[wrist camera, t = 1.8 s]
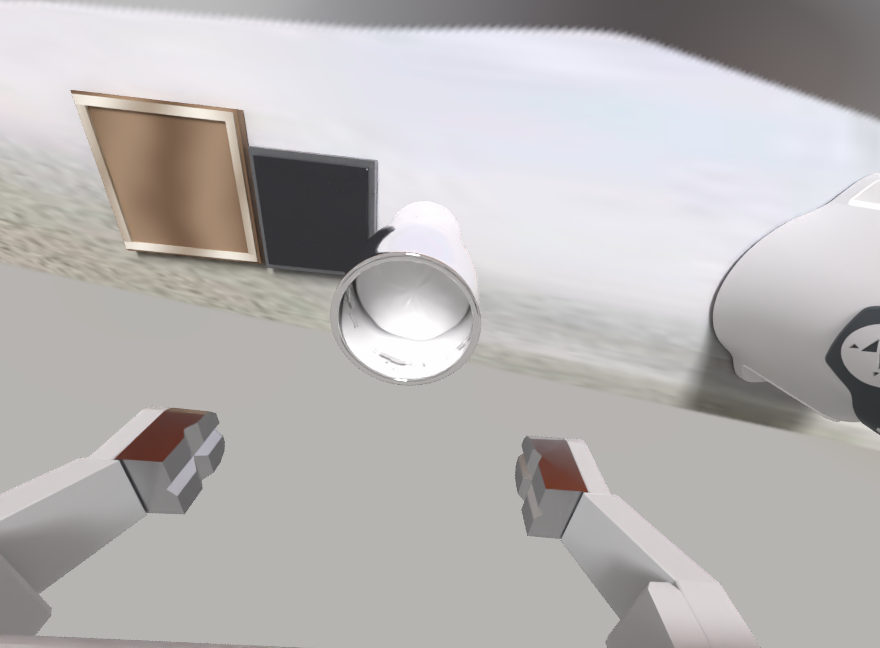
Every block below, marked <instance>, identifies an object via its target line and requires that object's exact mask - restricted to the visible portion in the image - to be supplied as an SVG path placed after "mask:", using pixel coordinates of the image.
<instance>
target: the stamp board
mask: <svg viewBox="0 0 880 648" xmlns="http://www.w3.org/2000/svg"><path fill="white" fill-rule="evenodd" d="M71 93H72V96H73V99H74V102H75V104H76V107H77V110H78V113H79V116H80V119H81V121H82V124H83V127H84V130H85V133H86V136H87V139H88V141H89V144H90V147H91V150H92V153H93V156H94V158H95V161H96V164H97V167H98V170H99V173H100V175H101V178H102V181H103V184H104V187H105V190H106V192H107V195H108V198H109V201H110V204H111V207H112V209H113V212H114V215H115V218H116V221H117V224H118V226H119V229H120V232H121V235H122V238H123V241H124V243H125V246H126V249H127V250H130V251H140V252H150V253H160V254H170V255H180V256H189V257H199V258H209V259H219V260H229V261H239V262H248V263H258V264H262V263H263V262H265V255H264V248H263V241H262V235H261V228H260V222H259V215H258V209H257V202H256V196H255V189H254V183H253V176H252V170H251V163H250V156H249V150H248V141H247V135H246V128H245V121H244V115H243V110H237V109H229V108H221V107H212V106H204V105H195V104H186V103H178V102H169V101H161V100H152V99H144V98H135V97H127V96H118V95H110V94H101V93H93V92H84V91H76V90H71Z"/></svg>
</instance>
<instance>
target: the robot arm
mask: <svg viewBox="0 0 880 648" xmlns="http://www.w3.org/2000/svg"><path fill="white" fill-rule="evenodd" d="M713 326H714V330H715V333H716V336H717V338H718V339H719V341H720V342H721V344H722V345H723V346H724V347H725V348H726V349H727V350H728V351H729V352H730V353H731V355H732V357H733V364H734V370H735V373H736V375H737V376H739V377H740V378H742V379H743V380H745V381H747V382H752V383H754V382H769V383H771V384H772V385H774V386H776V387H777V388H779V389H780V390H782V391H783V392H785V393H787V394H788V395H790V396H791V397H793V398H794V399H796V400H798V401H799V402H801V403H802V404H804V405H806V406H807V407H809V408H810V409H812V410H814V411H815V412H817V413H818V414H820V415H822V416H823V417H825V418H827V419H830V420H832V421H836V422H838V421H846V422H862V423H863V424H864V425H866V426H867V427H869V428H870V429H872V430H873V431H875V432H876V433H878V434H879V435H880V173H874V174H870V175H868V176H866V177H864V178H862V179H861V180H859V181H857V182H856V183H855V184H853V185H852V186H850V187H849V188H848V189H846V190H845V191H844V192H842V193H841V194H840V195H839V196H837V197H836V198H835V199H833V200H832V201H831V202H829V203H828V204H826V205H824V206H822V207H820V208H818V209H815V210H813V211H811V212H808V213H806V214H804V215H801V216H799V217H797V218H795V219H793V220H791V221H789V222H787V223H785V224H783V225H782V226H780V227H778V228H777V229H775V230H774V231H772V232H771V233H769V234H768V235H766V236H765V237H764V238H762V239H761V240H760V241H759V242H757V243H756V244H755V245H754V246H753V247H752V248H751V249H749V250H748V251H747V252H746V253H745V254H744V255H743V257H742V258H741V259H740V260H739V261H738V262H737V263H736V265H735V266H734V267H733V268H732V270H731V271H730V273H729V274H728V276H727V277H726V279H725V280H724V282H723V284H722V286H721V288H720V290H719V292H718V295H717V298H716V301H715V305H714V310H713ZM218 424H219V420H218V417H217V415H216V413H213V412H209V411H199V410H189V409H180V408H166V407H156V406H151V407H148V408H145V409H143V410H142V411H141V412H140V413H138V415H136V416H135V417H134V418H133V419H132V420H130V421H129V422H128V423H127V424H126V425H125V426H124V427H123V428H121V429H120V430H119V431H118V432H117V433H116V434H115V435H113V436H112V437H111V438H110V439H109V440H108V441H107V442H106V443H104V444H103V445H102V446H101V447H100V448H99V449H97V450H96V451H95V452H94V453H93V454H92V455H91V456H89V457H88V458H79V459H77V460H74V461H73V462H70V463H68V464H66V465H63V466H62V467H59V468H57V469H55V470H52V471H51V472H48V473H46V474H44V475H41V476H39V477H37V478H35V479H33V480H30V481H28V482H26V483H24V484H22V485H19V486H17V487H15V488H13V489H11V490H8V491H7V492H4V493H2V494H0V648H296V647H274V646H252V645H231V644H230V645H229V644H209V643H187V642H165V641H164V642H163V641H142V640H120V639H98V638H76V637H53V636H35V635H36V634H37V633H38V631H39V630H40V629H41V628H42V626H43V625H44V624H45V623H46V621H47V620H48V619H49V618H50V617H51V609H52V608H51V607H50V606H49V605H48V604H47V603H46V602H45V601H44V600H43V598H42V597H41V596H40V595H39V593H41V592H42V591H44V590H45V589H46V588H47V587H49V586H50V585H52V584H53V583H54V582H56V581H57V580H58V579H60V578H61V577H63V576H64V575H65V574H67V573H68V572H69V571H71V570H72V569H74V568H75V567H76V566H78V565H79V564H80V563H82V562H83V561H85V560H86V559H87V558H89V557H90V556H91V555H93V554H94V553H96V552H97V551H98V550H100V549H101V548H102V547H104V546H105V545H106V544H108V543H109V542H111V541H112V540H113V539H114V538H116V537H117V536H119V535H120V534H121V533H123V532H124V531H126V530H127V529H128V528H130V527H131V526H132V525H134V524H135V523H137V522H138V521H139V520H141V519H142V518H143V517H145V516H146V515H147V514H146V513H164V514H165V513H166V514H185V513H186V511H187V510H188V509H189V507H190V506H191V504H192V503H193V501H194V500H195V499H196V497H197V496H198V494H199V493H200V491H201V490H202V480H203V479H204V478H206V477H207V476H209V475H211V474H212V473H214V471H215V470H216V468H217V466H218V465H219V464H220V462H221V459H222V456H223V453H224V447H225V441H224V438H223V435H222V434H221V433H219V432H218V431H217V430H216V429H215V428H216V426H217V425H218ZM522 449H523V454H522V455H520V456H519V457H518V460H517V464H516V471H515V479H516V487H517V491H518V494H519V495H520V496H521V497H522V499H523V500H524V504H523V507H522V514H523V518H524V523H525V527H526V531H527V536H536V537H546V538H557V539H561V542H562V543H563V545H564V546H565V547H566V548H567V550H568V551H569V553H570V554H571V555H572V556H573V558H574V559H575V560H576V562H577V563H578V564H579V566H580V567H581V568H582V570H583V571H584V572H585V573H586V574H587V576H588V577H589V579H590V580H591V581H592V583H593V584H594V585H595V587H596V588H597V589H598V591H599V592H600V593H601V595H602V596H603V597H604V598H605V600H606V601H607V603H608V604H609V605H610V607H611V608H612V609H613V610H614V612H615V613H616V614H617V615H618V617H619V618H620V621H619V623H618V624H617V625H616V626H615V628H614V629H613V631H612V632H611V633H610V634H609V636H608V638H607V640H606V645H607V648H761V647H760V646H759V644H758V643H757V641H756V639H755V638H754V636H753V635H752V633H751V631H750V630H749V628H748V627H747V625H746V624H745V622H744V621H743V619H742V617H741V616H740V614H739V613H738V611H737V610H736V608H735V606H734V605H733V603H732V602H731V600H730V599H729V597H728V595H727V594H726V592H725V591H724V589H723V588H722V586H721V584H720V583H718V582H717V581H716V580H715V579H714V578H713V577H712V576H710V575H709V574H708V573H707V572H706V571H705V570H703V569H702V568H701V567H700V566H699V565H698V564H696V563H695V562H694V561H693V560H692V559H691V558H689V557H688V556H687V555H686V554H685V553H684V552H682V551H681V550H680V549H679V548H678V547H677V546H675V545H674V544H673V543H672V542H671V541H670V540H668V539H667V538H666V537H665V536H664V535H662V533H660V532H659V531H658V530H657V529H656V528H655V527H653V526H652V525H651V524H650V523H649V522H648V521H646V520H645V519H644V518H643V517H642V516H641V515H639V514H638V513H637V512H636V511H635V510H634V509H632V508H631V507H630V506H629V505H628V504H627V503H625V502H624V501H623V500H622V499H621V498H620V497H619V496H617V495H611V493H610V491H609V489H608V487H607V486H606V483H605V481H604V479H603V477H602V475H601V473H600V471H599V469H598V467H597V465H596V463H595V461H594V459H593V457H592V455H591V453H590V451H589V449H588V447H587V445H586V443H585V442H584V441H583V440H582V439H566V438H563V439H562V438H552V437H538V436H526V437H525V438H524V440H523V443H522Z"/></svg>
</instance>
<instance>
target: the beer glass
mask: <svg viewBox="0 0 880 648" xmlns="http://www.w3.org/2000/svg"><path fill="white" fill-rule="evenodd" d="M330 319H331V327H332V331H333V334H334V337H335V339H336V341H337V344H338V345H339V347H340V349H341V350H342V352H343V353H344V354H345V356H346V357H347V358H348V359H349V360H350V361H351V362H352V363H353V364H354V365H355V366H356V367H358V368H359V369H360V370H362V371H363V372H365V373H367V374H368V375H370V376H372V377H374V378H376V379H379V380H382V381H385V382H388V383H392V384H398V385H421V384H427V383H431V382H435V381H437V380H440V379H442V378H444V377H447V376H449V375H450V374H452V373H454V372H455V371H456V370H457V369H459V368H460V367H461V366H462V365H463V364H464V363H465V362H466V361H467V360H468V359H469V357H470V356H471V355H472V353H473V351H474V349H475V347H476V345H477V343H478V340H479V336H480V331H481V313H480V294H479V285H478V278H477V273H476V270H475V267H474V264H473V261H472V258H471V256H470V254H469V252H468V250H467V248H466V247H465V245H464V244H463V243H462V236H461V230H460V226H459V224H458V222H457V220H456V218H455V217H454V216H453V215H452V213H451V212H450V211H449V210H448V209H446V208H445V207H443V206H442V205H440V204H437V203H434V202H430V201H418V202H413V203H410V204H408V205H406V206H405V207H403V208H402V209H400V210H399V211H398V212H397V213H396V215H395V216H394V217H393V219H392V221H391V223H390V224H389V225H387V226H385V227H383V228H382V229H380V230H379V231H377V232H376V233H375V234H374V235H372V236H371V237H370V238H369V239H368V240H367V241H366V242H365V244H364V245H363V246H362V247H361V248H360V250H359V251H358V253H357V254H356V256H355V257H354V258H353V260H352V262H351V263H350V265H349V267H348V269H347V271H346V273H345V275H344V277H343V279H342V280H341V282H340V283H339V285H338V287H337V289H336V291H335V293H334V296H333V299H332V303H331V310H330Z"/></svg>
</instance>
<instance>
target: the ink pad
mask: <svg viewBox="0 0 880 648" xmlns="http://www.w3.org/2000/svg"><path fill="white" fill-rule="evenodd" d="M248 150H249V156H250V163H251V170H252V176H253V183H254V189H255V196H256V202H257V209H258V215H259V222H260V228H261V235H262V241H263V248H264V255H265V261H266V267H267V268H277V269H287V270H297V271H306V272H316V273H326V274H336V275H345V273H346V271H347V269H348V267H349V265H350V263H351V262H352V260H353V258H354V257H355V256H356V254H357V253H358V251H359V250H360V248H361V247H362V246H363V245H364V244H365V242H366V241H367V240H368V239H369V238H370V237H371V236H372V235H374V234H375V233H376V232H377V160H370V159H362V158H353V157H344V156H335V155H326V154H318V153H309V152H300V151H291V150H282V149H274V148H265V147H256V146H248Z"/></svg>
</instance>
